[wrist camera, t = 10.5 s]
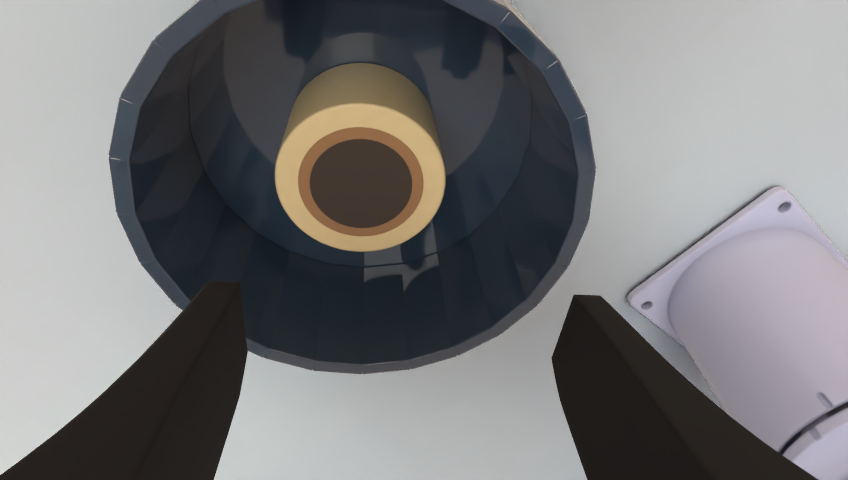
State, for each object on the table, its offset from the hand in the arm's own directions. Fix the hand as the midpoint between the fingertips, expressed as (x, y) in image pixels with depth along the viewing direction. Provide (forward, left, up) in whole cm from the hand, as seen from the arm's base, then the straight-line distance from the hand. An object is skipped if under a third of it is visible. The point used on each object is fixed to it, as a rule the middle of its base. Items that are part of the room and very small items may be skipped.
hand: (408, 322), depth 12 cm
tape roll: (+1, +1, -10) cm, 10 cm away
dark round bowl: (+1, +1, -10) cm, 10 cm away
